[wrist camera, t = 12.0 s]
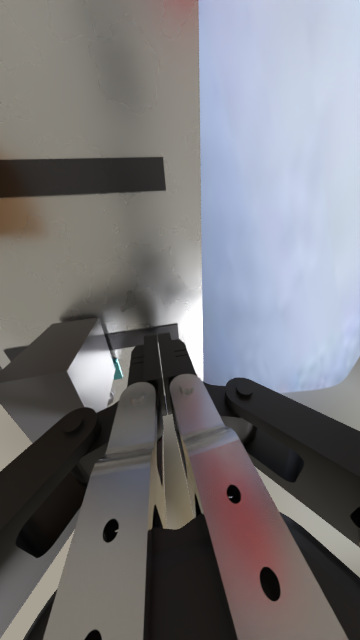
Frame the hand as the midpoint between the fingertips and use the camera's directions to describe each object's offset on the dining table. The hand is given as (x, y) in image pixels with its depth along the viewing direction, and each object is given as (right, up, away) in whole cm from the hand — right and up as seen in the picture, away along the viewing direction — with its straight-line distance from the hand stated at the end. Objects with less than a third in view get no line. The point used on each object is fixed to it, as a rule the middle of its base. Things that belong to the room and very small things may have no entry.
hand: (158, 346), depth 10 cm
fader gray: (-5, 0, 0) cm, 5 cm away
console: (-4, +5, +1) cm, 7 cm away
